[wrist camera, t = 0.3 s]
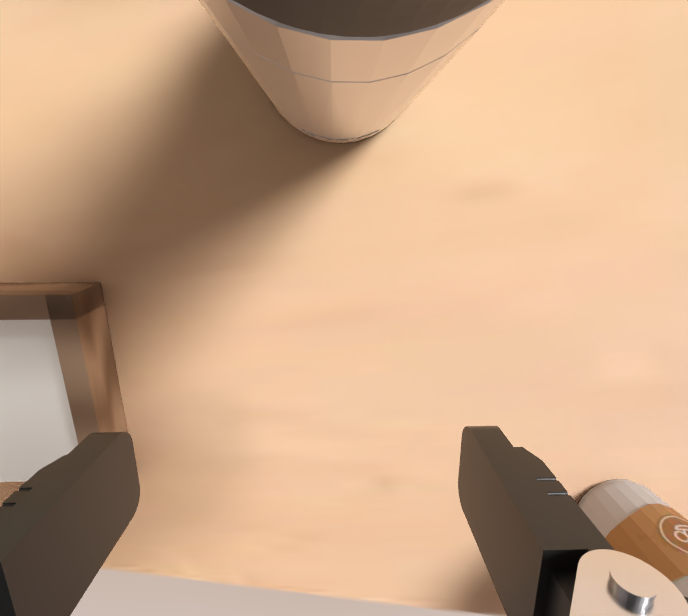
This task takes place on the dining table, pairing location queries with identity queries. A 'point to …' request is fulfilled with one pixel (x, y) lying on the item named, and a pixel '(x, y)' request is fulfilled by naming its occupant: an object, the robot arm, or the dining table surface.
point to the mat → (31, 401)
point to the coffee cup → (641, 527)
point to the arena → (75, 347)
